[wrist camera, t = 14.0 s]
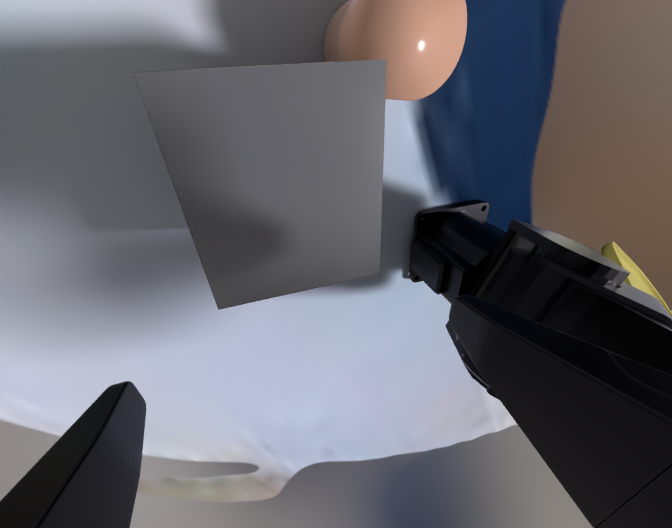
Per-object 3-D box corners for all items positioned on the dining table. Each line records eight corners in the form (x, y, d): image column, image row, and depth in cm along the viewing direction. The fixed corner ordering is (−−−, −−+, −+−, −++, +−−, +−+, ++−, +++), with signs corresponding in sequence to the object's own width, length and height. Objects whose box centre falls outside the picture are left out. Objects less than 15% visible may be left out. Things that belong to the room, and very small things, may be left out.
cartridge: (400, -2, 15) (476, -43, 11) (395, 93, 18) (457, 96, 13) (320, -2, 14) (363, -46, 10) (326, 99, 17) (364, 104, 12)
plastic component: (539, 330, 33) (652, 290, 26) (515, 277, 38) (606, 233, 31) (610, 370, 41) (708, 348, 35) (583, 323, 46) (666, 296, 40)
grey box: (323, 67, 16) (386, 53, 9) (332, 212, 21) (379, 273, 14) (174, 75, 14) (121, 65, 8) (221, 231, 19) (213, 310, 12)
